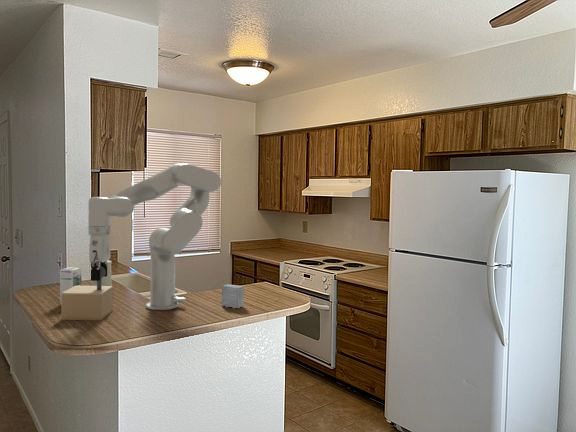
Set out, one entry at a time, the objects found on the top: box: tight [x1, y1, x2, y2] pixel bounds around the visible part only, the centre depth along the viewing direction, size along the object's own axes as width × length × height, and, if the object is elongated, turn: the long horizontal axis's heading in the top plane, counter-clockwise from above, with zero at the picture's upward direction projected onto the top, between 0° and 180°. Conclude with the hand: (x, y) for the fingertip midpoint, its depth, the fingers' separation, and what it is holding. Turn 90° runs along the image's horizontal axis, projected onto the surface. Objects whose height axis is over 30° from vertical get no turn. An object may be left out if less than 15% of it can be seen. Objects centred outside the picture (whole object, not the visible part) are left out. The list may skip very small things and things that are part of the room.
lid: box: [61, 266, 114, 295], centre depth 175 cm, size 14×13×9 cm
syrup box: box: [59, 266, 82, 304], centre depth 191 cm, size 6×6×14 cm
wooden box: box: [60, 287, 114, 321], centre depth 176 cm, size 14×13×9 cm
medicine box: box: [221, 283, 245, 309], centre depth 194 cm, size 8×4×9 cm, turn 65°
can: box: [90, 259, 113, 286], centre depth 228 cm, size 9×9×12 cm
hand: (99, 278), depth 176 cm, fingers open, 7 cm apart
